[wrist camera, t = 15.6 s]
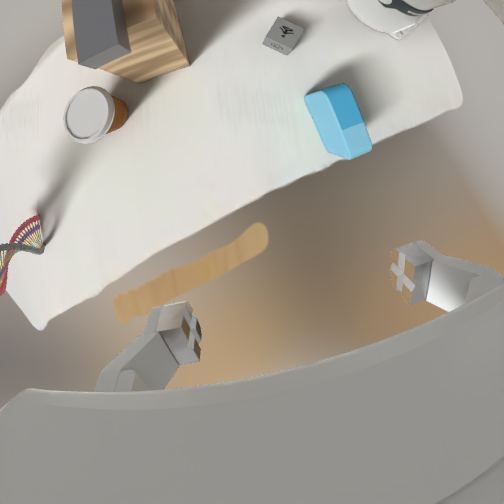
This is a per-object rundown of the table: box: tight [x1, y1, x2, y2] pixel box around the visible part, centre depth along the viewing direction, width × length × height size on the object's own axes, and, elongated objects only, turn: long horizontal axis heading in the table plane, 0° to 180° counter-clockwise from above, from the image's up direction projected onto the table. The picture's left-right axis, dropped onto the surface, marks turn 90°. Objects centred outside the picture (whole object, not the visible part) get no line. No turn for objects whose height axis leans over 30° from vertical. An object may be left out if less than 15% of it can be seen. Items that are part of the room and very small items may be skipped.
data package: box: [304, 83, 372, 160], centre depth 41 cm, size 12×4×12 cm, turn 26°
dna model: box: [0, 215, 45, 296], centre depth 37 cm, size 9×9×30 cm
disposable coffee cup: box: [63, 86, 128, 144], centre depth 37 cm, size 10×10×12 cm
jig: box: [62, 0, 190, 83], centre depth 22 cm, size 19×10×30 cm, turn 13°
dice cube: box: [263, 17, 304, 55], centre depth 36 cm, size 5×5×5 cm
